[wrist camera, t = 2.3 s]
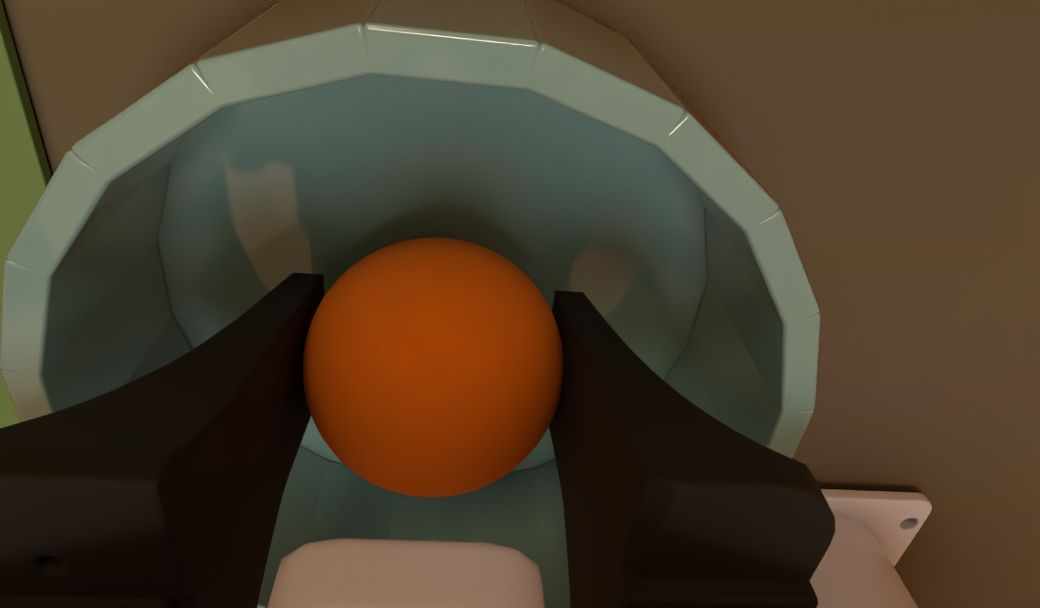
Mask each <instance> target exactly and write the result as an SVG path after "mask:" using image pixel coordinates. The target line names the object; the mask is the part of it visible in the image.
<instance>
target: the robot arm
mask: <svg viewBox="0 0 1040 608" xmlns="http://www.w3.org/2000/svg"><path fill="white" fill-rule="evenodd" d="M323 298H324V278H323V274H308V273H294V272H293V273H292V274H291V275H290V276H288V277H287V278H286V279H285V280H283V281H282V282H281V283H280V284H279V285H277V286H276V287H275V288H274V289H273V290H271V291H270V292H269V293H268V294H267V295H266V296H264V297H263V298H262V299H261V300H260V301H258V302H257V303H256V304H255V305H254V306H252V307H251V308H250V309H248V310H247V311H246V312H245V313H243V314H242V315H241V316H240V317H238V318H237V319H236V320H235V321H233V322H232V323H230V324H229V325H228V326H226V327H225V328H223V329H222V330H221V331H219V332H218V333H216V334H215V335H213V336H212V337H211V338H209V339H208V340H206V341H205V342H203V343H202V344H200V345H199V346H197V347H196V348H194V349H192V350H191V351H189V352H187V353H186V354H184V355H182V356H181V357H179V358H177V359H175V360H173V361H172V362H170V363H168V364H166V365H165V366H163V367H161V368H159V369H157V370H155V371H153V372H151V373H149V374H146V375H144V376H142V377H140V378H138V379H136V380H134V381H132V382H130V383H127V384H125V385H123V386H121V387H119V388H117V389H114V390H112V391H110V392H107V393H105V394H102V395H100V396H97V397H95V398H92V399H90V400H87V401H84V402H82V403H79V404H76V405H73V406H71V407H68V408H65V409H62V410H59V411H56V412H53V413H50V414H47V415H44V416H40V417H37V418H34V419H30V420H27V421H24V422H20V423H17V424H13V425H10V426H7V427H3V428H0V608H257V605H258V600H259V596H260V591H261V586H262V581H263V577H264V572H265V568H266V564H267V559H268V555H269V550H270V546H271V541H272V537H273V533H274V529H275V525H276V521H277V516H278V512H279V508H280V504H281V500H282V496H283V493H284V490H285V486H286V483H287V480H288V477H289V474H290V471H291V469H292V466H293V463H294V461H295V458H296V455H297V452H298V450H299V447H300V444H301V442H302V439H303V436H304V433H305V431H306V428H307V425H308V423H309V420H310V417H311V414H310V411H309V408H308V405H307V401H306V396H305V390H304V384H303V352H304V347H305V341H306V337H307V333H308V330H309V327H310V324H311V321H312V319H313V316H314V314H315V312H316V310H317V308H318V306H319V305H320V303H321V301H322V299H323ZM552 313H553V315H554V318H555V320H556V323H557V326H558V330H559V333H560V337H561V342H562V347H563V362H564V373H563V382H562V390H561V395H560V399H559V402H558V406H557V409H556V411H555V414H554V417H553V419H552V421H551V423H550V425H549V429H550V434H551V439H552V444H553V449H554V455H555V460H556V465H557V470H558V475H559V480H560V486H561V492H562V499H563V506H564V519H565V531H566V544H567V558H568V573H569V588H570V608H918V607H917V605H916V604H915V602H914V600H913V599H912V597H911V595H910V594H909V592H908V590H907V588H906V587H905V585H904V583H903V582H902V580H901V578H900V577H899V575H898V573H897V572H896V570H895V568H894V566H895V565H896V563H897V562H898V560H899V559H900V557H901V556H902V554H903V553H904V551H905V550H906V548H907V547H908V545H909V544H910V542H911V541H912V539H913V538H914V537H915V535H916V534H917V532H918V531H919V529H920V528H921V526H922V525H923V523H924V522H925V520H926V519H927V517H928V516H929V514H930V512H931V510H932V505H931V503H930V502H929V500H928V499H927V497H926V496H925V495H923V494H921V493H916V492H891V491H864V490H837V489H820V487H819V485H818V484H817V482H816V480H815V479H814V477H813V476H812V474H811V472H810V471H809V469H808V468H807V466H806V465H804V464H802V463H800V462H798V461H796V460H794V459H791V458H789V457H787V456H785V455H783V454H780V453H778V452H776V451H774V450H772V449H769V448H767V447H765V446H763V445H761V444H759V443H757V442H755V441H753V440H751V439H750V438H748V437H746V436H744V435H742V434H741V433H739V432H737V431H735V430H733V429H732V428H730V427H728V426H727V425H725V424H723V423H722V422H720V421H718V420H717V419H715V418H714V417H712V416H711V415H709V414H708V413H706V412H705V411H703V410H702V409H700V408H699V407H697V406H696V405H694V404H693V403H692V402H690V401H689V400H688V399H686V398H685V397H683V396H682V395H681V394H680V393H678V392H677V391H676V390H675V389H674V388H672V387H671V386H670V385H669V384H667V383H666V382H665V381H664V380H662V379H661V378H660V377H659V376H658V375H657V374H656V373H655V372H654V371H652V370H651V369H650V368H649V367H648V366H647V365H646V364H645V363H644V362H643V361H642V360H641V359H640V358H639V357H638V356H637V355H636V354H635V353H634V352H633V351H632V350H631V349H630V348H629V347H628V346H627V344H626V343H625V342H624V341H623V340H622V339H621V338H620V337H619V335H618V334H617V333H616V332H615V331H614V330H613V328H612V327H611V326H610V325H609V324H608V322H607V321H606V320H605V319H604V318H603V316H602V315H601V314H600V313H599V311H598V310H597V309H596V308H595V306H594V305H593V304H592V303H591V301H590V300H589V299H588V298H587V296H586V295H585V294H584V293H583V292H574V291H559V290H555V294H554V300H553V306H552ZM267 608H545V605H544V593H543V584H542V579H541V575H540V570H539V565H538V564H536V563H535V562H534V561H532V560H531V559H530V558H528V557H527V556H526V555H524V554H523V553H522V552H520V551H519V550H517V549H515V548H513V547H508V546H503V545H498V544H493V543H488V542H469V541H433V540H396V539H360V538H337V539H330V540H323V541H316V542H310V543H307V544H304V545H303V546H301V547H300V548H298V549H297V550H295V551H293V552H292V553H290V554H289V555H287V556H286V557H284V558H282V559H281V563H280V566H279V569H278V572H277V575H276V578H275V582H274V585H273V589H272V593H271V596H270V600H269V603H268V607H267Z"/></svg>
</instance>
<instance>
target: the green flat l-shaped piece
mask: <svg viewBox="0 0 1040 608" xmlns="http://www.w3.org/2000/svg"><path fill="white" fill-rule="evenodd" d="M51 178H52V176H51V172H50V169H49V165H48V162H47V158H46V155H45V151H44V148H43V144H42V141H41V137H40V134H39V130H38V127H37V123H36V120H35V116H34V113H33V109H32V106H31V102H30V99H29V95H28V92H27V88H26V85H25V82H24V78H23V75H22V71H21V68H20V64H19V61H18V57H17V54H16V50H15V47H14V43H13V40H12V36H11V33H10V29H9V26H8V22H7V19H6V15H5V12H4V8H3V5H2V1H1V0H0V341H1V321H2V301H3V281H4V262H5V260H6V259H7V254H8V252H9V250H10V248H11V247H12V245H13V243H14V241H15V240H16V238H17V236H18V235H19V233H20V231H21V229H22V228H23V226H24V224H25V222H26V221H27V219H28V217H29V216H30V214H31V212H32V210H33V209H34V207H35V205H36V203H37V202H38V200H39V198H40V197H41V195H42V193H43V191H44V190H45V188H46V186H47V185H48V183H49V181H50V179H51ZM17 423H20V420H19V417H18V415H17V412H16V410H15V407H14V405H13V402H12V400H11V397H10V395H9V392H8V390H7V387H6V385H5V382H4V380H3V377H2V375H1V368H0V428H3V427H7V426H10V425H13V424H17Z"/></svg>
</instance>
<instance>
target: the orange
mask: <svg viewBox="0 0 1040 608" xmlns="http://www.w3.org/2000/svg"><path fill="white" fill-rule="evenodd" d="M563 373H564V362H563V347H562V342H561V337H560V333H559V330H558V326H557V323H556V320H555V318H554V315H553V313H552V311H551V309H550V307H549V305H548V303H547V302H546V300H545V298H544V297H543V295H542V293H541V292H540V290H539V289H538V288H537V287H536V285H535V284H534V283H533V282H532V280H531V279H530V278H529V277H528V276H527V275H526V274H525V273H523V272H522V271H521V270H520V269H519V268H518V267H517V266H516V265H515V264H513V263H512V262H510V261H509V260H508V259H506V258H505V257H503V256H501V255H500V254H498V253H496V252H494V251H492V250H490V249H488V248H485V247H482V246H480V245H477V244H475V243H471V242H468V241H464V240H460V239H453V238H445V237H426V238H416V239H411V240H406V241H402V242H397V243H394V244H392V245H389V246H386V247H383V248H381V249H379V250H377V251H375V252H373V253H371V254H369V255H368V256H366V257H365V258H363V259H362V260H360V261H359V262H357V263H356V264H354V265H353V266H352V267H350V268H349V269H348V270H347V271H346V272H345V273H344V274H343V275H342V276H340V277H339V279H338V280H337V281H336V282H335V283H334V285H333V286H332V287H331V288H330V290H329V291H328V292H327V293H326V295H325V296H324V298H323V299H322V301H321V303H320V305H319V306H318V308H317V310H316V312H315V314H314V316H313V319H312V321H311V324H310V327H309V330H308V333H307V337H306V341H305V347H304V352H303V384H304V390H305V396H306V401H307V405H308V408H309V411H310V414H311V416H312V419H313V421H314V423H315V425H316V427H317V429H318V431H319V433H320V435H321V437H322V438H323V439H324V441H325V442H326V443H327V445H328V446H329V447H330V449H331V450H332V451H333V453H334V454H335V455H336V456H337V457H338V458H339V459H340V460H341V461H342V462H343V463H344V464H345V465H346V466H347V467H349V468H350V469H351V470H353V471H354V472H355V473H356V474H358V475H359V476H361V477H362V478H364V479H365V480H367V481H369V482H371V483H373V484H375V485H377V486H379V487H381V488H384V489H387V490H389V491H393V492H396V493H400V494H404V495H410V496H416V497H446V496H454V495H459V494H464V493H468V492H471V491H474V490H477V489H480V488H482V487H485V486H487V485H489V484H491V483H493V482H494V481H496V480H498V479H500V478H501V477H503V476H504V475H506V474H507V473H509V472H510V471H512V470H513V469H514V468H515V467H517V466H518V465H519V464H520V463H521V462H522V461H523V460H524V459H525V458H526V457H527V456H528V455H529V454H530V453H531V452H532V451H533V449H534V448H535V447H536V446H537V445H538V443H539V441H540V440H541V438H542V437H543V435H544V434H545V432H546V431H547V429H548V427H549V425H550V423H551V421H552V419H553V417H554V414H555V411H556V409H557V406H558V402H559V399H560V395H561V390H562V382H563Z"/></svg>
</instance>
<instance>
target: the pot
mask: <svg viewBox="0 0 1040 608" xmlns="http://www.w3.org/2000/svg"><path fill="white" fill-rule="evenodd" d="M426 237H445V238H453V239H460V240H464V241H468V242H471V243H475V244H477V245H480V246H482V247H485V248H488V249H490V250H492V251H494V252H496V253H498V254H500V255H501V256H503V257H505V258H506V259H508V260H509V261H510V262H512V263H513V264H515V265H516V266H517V267H518V268H519V269H520V270H521V271H522V272H523V273H525V274H526V275H527V276H528V277H529V278H530V279H531V280H532V282H533V283H534V284H535V285H536V287H537V288H538V289H539V290H540V292H541V293H542V295H543V297H544V298H545V300H546V302H547V303H548V305H549V307H550V309H551V311H552V306H553V300H554V294H555V290H559V291H574V292H583V293H584V294H585V295H586V296H587V298H588V299H589V300H590V301H591V303H592V304H593V305H594V306H595V308H596V309H597V310H598V311H599V313H600V314H601V315H602V316H603V318H604V319H605V320H606V321H607V322H608V324H609V325H610V326H611V327H612V328H613V330H614V331H615V332H616V333H617V334H618V335H619V337H620V338H621V339H622V340H623V341H624V342H625V343H626V344H627V346H628V347H629V348H630V349H631V350H632V351H633V352H634V353H635V354H636V355H637V356H638V357H639V358H640V359H641V360H642V361H643V362H644V363H645V364H646V365H647V366H648V367H649V368H650V369H651V370H652V371H654V372H655V373H656V374H657V375H658V376H659V377H660V378H661V379H662V380H664V381H665V382H666V383H667V384H669V385H670V386H671V387H672V388H674V389H675V390H676V391H677V392H678V393H680V394H681V395H682V396H683V397H685V398H686V399H688V400H689V401H690V402H692V403H693V404H694V405H696V406H697V407H699V408H700V409H702V410H703V411H705V412H706V413H708V414H709V415H711V416H712V417H714V418H715V419H717V420H718V421H720V422H722V423H723V424H725V425H727V426H728V427H730V428H732V429H733V430H735V431H737V432H739V433H741V434H742V435H744V436H746V437H748V438H750V439H751V440H753V441H755V442H757V443H759V444H761V445H763V446H765V447H767V448H769V449H772V450H774V451H776V452H778V453H780V454H783V455H785V456H787V457H789V458H791V459H792V458H793V456H794V454H795V452H796V449H797V447H798V445H799V443H800V441H801V439H802V437H803V435H804V432H805V430H806V428H807V426H808V424H809V422H810V420H811V418H812V415H813V413H814V411H813V409H814V408H815V401H816V383H817V366H818V349H819V332H820V314H819V306H818V303H817V301H816V298H815V296H814V293H813V290H812V288H811V285H810V282H809V280H808V277H807V274H806V272H805V269H804V266H803V264H802V261H801V259H800V256H799V253H798V251H797V248H796V245H795V243H794V240H793V237H792V235H791V232H790V230H789V227H788V224H787V222H786V219H785V216H784V214H783V211H782V210H781V209H780V208H779V206H778V203H777V202H776V201H775V200H774V199H773V198H772V197H771V195H770V194H769V193H768V192H767V191H766V190H765V189H764V187H763V186H762V185H761V184H760V183H759V182H758V181H757V179H756V178H755V177H754V176H753V175H752V174H751V173H750V172H749V170H748V169H747V168H746V167H745V166H744V165H743V164H742V162H741V161H740V160H739V159H738V158H737V157H736V156H735V155H734V153H733V152H732V151H731V150H730V149H729V148H728V147H727V145H726V144H725V143H724V142H723V141H722V140H721V139H720V138H719V136H718V135H717V134H716V133H715V132H714V131H713V130H712V128H711V127H710V126H709V125H708V124H707V123H706V122H705V120H704V119H703V118H702V117H701V116H700V115H699V114H698V113H697V111H696V110H695V109H694V108H693V107H692V106H691V105H690V104H689V103H688V102H687V101H686V100H685V99H684V98H683V97H682V96H681V95H680V93H679V92H678V91H677V90H676V89H675V88H674V87H673V86H672V85H671V84H670V83H669V82H668V81H667V80H666V79H665V78H664V77H663V75H662V74H661V73H659V72H658V70H657V69H656V68H655V67H654V66H653V65H652V64H651V63H650V62H649V61H648V60H647V59H646V58H645V57H644V56H643V55H642V54H641V53H640V52H639V51H638V50H637V49H636V47H635V46H634V45H633V44H632V43H631V42H630V41H629V40H628V39H626V38H624V37H623V36H622V35H621V34H619V33H617V32H615V31H613V30H611V29H609V28H607V27H605V26H603V25H601V24H600V23H599V22H597V21H596V20H594V19H592V18H590V17H588V16H586V15H584V14H582V13H580V12H578V11H576V10H574V9H572V8H570V7H568V6H567V5H565V4H563V3H561V2H559V1H557V0H283V1H279V2H277V3H276V4H275V5H273V6H272V7H270V8H269V9H267V10H266V11H264V12H263V13H262V14H260V15H259V16H257V17H256V18H254V19H253V20H251V21H250V22H249V23H247V24H246V25H244V26H243V27H241V28H240V29H238V30H237V31H236V32H234V33H233V34H231V35H230V36H228V37H227V38H225V39H224V40H223V41H221V42H220V43H218V44H217V45H215V46H214V47H212V48H211V49H210V50H208V51H207V52H205V53H204V54H202V55H201V56H199V57H198V58H197V59H195V60H194V61H192V62H191V63H189V64H188V65H186V66H185V67H184V68H182V69H181V70H179V71H178V72H176V73H175V74H174V75H172V76H171V77H169V78H168V79H166V80H165V81H163V82H162V83H161V84H159V85H158V86H156V87H155V88H153V89H152V90H151V91H149V92H148V93H146V94H145V95H143V96H142V97H140V98H139V99H138V100H136V101H135V102H133V103H132V104H130V105H129V106H128V107H126V108H125V109H123V110H122V111H120V112H119V113H117V114H116V115H115V116H113V117H112V118H110V119H109V120H107V121H106V122H105V123H103V124H102V125H100V126H99V127H97V128H96V129H94V130H93V131H92V132H90V133H89V134H87V135H86V136H84V137H83V138H82V139H80V140H79V141H77V142H76V143H74V144H73V146H72V148H71V149H69V150H68V151H67V152H66V153H65V155H64V157H63V159H62V160H61V162H60V164H59V166H58V167H57V169H56V171H55V172H54V174H53V176H52V178H51V179H50V181H49V183H48V185H47V186H46V188H45V190H44V191H43V193H42V195H41V197H40V198H39V200H38V202H37V203H36V205H35V207H34V209H33V210H32V212H31V214H30V216H29V217H28V219H27V221H26V222H25V224H24V226H23V228H22V229H21V231H20V233H19V235H18V236H17V238H16V240H15V241H14V243H13V245H12V247H11V248H10V250H9V252H8V254H7V259H6V260H5V262H4V281H3V301H2V321H1V341H0V368H1V375H2V377H3V380H4V382H5V385H6V387H7V390H8V392H9V395H10V397H11V400H12V402H13V405H14V407H15V410H16V412H17V415H18V417H19V420H20V422H24V421H27V420H30V419H34V418H37V417H40V416H44V415H47V414H50V413H53V412H56V411H59V410H62V409H65V408H68V407H71V406H73V405H76V404H79V403H82V402H84V401H87V400H90V399H92V398H95V397H97V396H100V395H102V394H105V393H107V392H110V391H112V390H114V389H117V388H119V387H121V386H123V385H125V384H127V383H130V382H132V381H134V380H136V379H138V378H140V377H142V376H144V375H146V374H149V373H151V372H153V371H155V370H157V369H159V368H161V367H163V366H165V365H166V364H168V363H170V362H172V361H173V360H175V359H177V358H179V357H181V356H182V355H184V354H186V353H187V352H189V351H191V350H192V349H194V348H196V347H197V346H199V345H200V344H202V343H203V342H205V341H206V340H208V339H209V338H211V337H212V336H213V335H215V334H216V333H218V332H219V331H221V330H222V329H223V328H225V327H226V326H228V325H229V324H230V323H232V322H233V321H235V320H236V319H237V318H238V317H240V316H241V315H242V314H243V313H245V312H246V311H247V310H248V309H250V308H251V307H252V306H254V305H255V304H256V303H257V302H258V301H260V300H261V299H262V298H263V297H264V296H266V295H267V294H268V293H269V292H270V291H271V290H273V289H274V288H275V287H276V286H277V285H279V284H280V283H281V282H282V281H283V280H285V279H286V278H287V277H288V276H290V275H291V274H292V273H293V272H294V273H308V274H323V278H324V296H325V295H326V293H327V292H328V291H329V290H330V288H331V287H332V286H333V285H334V283H335V282H336V281H337V280H338V279H339V277H340V276H342V275H343V274H344V273H345V272H346V271H347V270H348V269H349V268H350V267H352V266H353V265H354V264H356V263H357V262H359V261H360V260H362V259H363V258H365V257H366V256H368V255H369V254H371V253H373V252H375V251H377V250H379V249H381V248H383V247H386V246H389V245H392V244H394V243H397V242H402V241H406V240H411V239H416V238H426ZM337 538H360V539H396V540H433V541H469V542H488V543H493V544H498V545H503V546H508V547H513V548H515V549H517V550H519V551H520V552H522V553H523V554H524V555H526V556H527V557H528V558H530V559H531V560H532V561H534V562H535V563H536V564H538V565H539V570H540V575H541V579H542V584H543V593H544V605H545V608H570V588H569V573H568V558H567V544H566V531H565V519H564V506H563V499H562V492H561V486H560V480H559V475H558V470H557V465H556V460H555V455H554V449H553V444H552V439H551V434H550V429H549V427H548V429H547V431H546V432H545V434H544V435H543V437H542V438H541V440H540V441H539V443H538V445H537V446H536V447H535V448H534V449H533V451H532V452H531V453H530V454H529V455H528V456H527V457H526V458H525V459H524V460H523V461H522V462H521V463H520V464H519V465H518V466H517V467H515V468H514V469H513V470H512V471H510V472H509V473H507V474H506V475H504V476H503V477H501V478H500V479H498V480H496V481H494V482H493V483H491V484H489V485H487V486H485V487H482V488H480V489H477V490H474V491H471V492H468V493H464V494H459V495H454V496H446V497H416V496H410V495H404V494H400V493H396V492H393V491H389V490H387V489H384V488H381V487H379V486H377V485H375V484H373V483H371V482H369V481H367V480H365V479H364V478H362V477H361V476H359V475H358V474H356V473H355V472H354V471H353V470H351V469H350V468H349V467H347V466H346V465H345V464H344V463H343V462H342V461H341V460H340V459H339V458H338V457H337V456H336V455H335V454H334V453H333V451H332V450H331V449H330V447H329V446H328V445H327V443H326V442H325V441H324V439H323V438H322V437H321V435H320V433H319V431H318V429H317V427H316V425H315V423H314V421H313V419H312V416H311V417H310V420H309V423H308V425H307V428H306V431H305V433H304V436H303V439H302V442H301V444H300V447H299V450H298V452H297V455H296V458H295V461H294V463H293V466H292V469H291V471H290V474H289V477H288V480H287V483H286V486H285V490H284V493H283V496H282V500H281V504H280V508H279V512H278V516H277V521H276V525H275V529H274V533H273V537H272V541H271V546H270V550H269V555H268V559H267V564H266V568H265V572H264V577H263V581H262V586H261V591H260V596H259V600H258V605H257V608H267V607H268V603H269V600H270V596H271V593H272V589H273V585H274V582H275V578H276V575H277V572H278V569H279V566H280V563H281V559H282V558H284V557H286V556H287V555H289V554H290V553H292V552H293V551H295V550H297V549H298V548H300V547H301V546H303V545H304V544H307V543H310V542H316V541H323V540H330V539H337Z"/></svg>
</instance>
